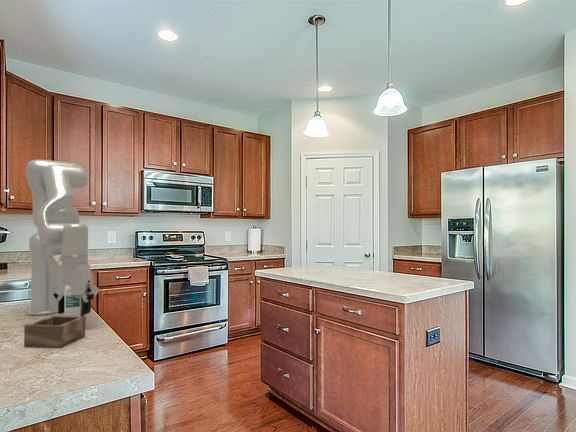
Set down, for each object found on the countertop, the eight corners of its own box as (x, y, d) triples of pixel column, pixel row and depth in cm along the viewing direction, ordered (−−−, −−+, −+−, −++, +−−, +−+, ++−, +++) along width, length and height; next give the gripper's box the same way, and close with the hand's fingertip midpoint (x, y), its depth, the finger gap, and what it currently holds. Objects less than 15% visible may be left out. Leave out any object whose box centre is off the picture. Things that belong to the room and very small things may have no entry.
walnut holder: (52, 335, 115) (52, 316, 115) (85, 336, 114) (85, 316, 114) (24, 346, 104) (24, 325, 105) (60, 348, 103) (60, 326, 104)
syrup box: (63, 331, 119) (64, 286, 120) (64, 327, 124) (65, 283, 125) (83, 329, 122) (84, 285, 122) (84, 325, 127) (84, 282, 127)
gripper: (42, 261, 121) (41, 315, 120) (92, 262, 119) (91, 316, 119) (58, 259, 128) (58, 310, 128) (106, 259, 127) (105, 311, 126)
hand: (74, 313), depth 123 cm, fingers closed on syrup box, 7 cm apart
